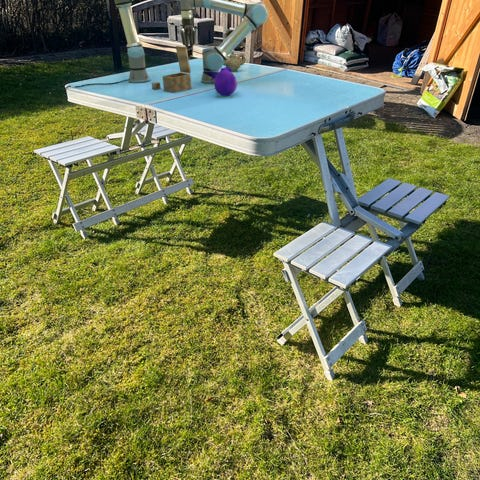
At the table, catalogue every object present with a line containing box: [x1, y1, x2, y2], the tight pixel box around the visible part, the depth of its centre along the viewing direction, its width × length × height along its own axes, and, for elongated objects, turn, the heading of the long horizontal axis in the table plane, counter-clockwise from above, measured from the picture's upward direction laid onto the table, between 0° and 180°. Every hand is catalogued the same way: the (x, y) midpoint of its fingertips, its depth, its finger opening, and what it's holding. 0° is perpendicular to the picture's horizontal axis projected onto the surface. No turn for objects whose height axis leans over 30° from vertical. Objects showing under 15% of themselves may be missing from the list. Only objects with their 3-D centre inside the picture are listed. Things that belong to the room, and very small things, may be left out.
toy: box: [202, 66, 238, 97], centre depth 293 cm, size 16×18×27 cm
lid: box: [175, 45, 194, 74], centre depth 308 cm, size 17×10×8 cm
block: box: [151, 81, 162, 91], centre depth 314 cm, size 4×4×4 cm
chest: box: [162, 72, 192, 93], centre depth 308 cm, size 16×10×10 cm, turn 136°
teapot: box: [223, 50, 246, 72], centre depth 364 cm, size 21×12×15 cm, turn 120°
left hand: (192, 39), depth 345 cm, fingers open, 13 cm apart
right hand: (189, 55), depth 308 cm, fingers closed on lid, 2 cm apart
